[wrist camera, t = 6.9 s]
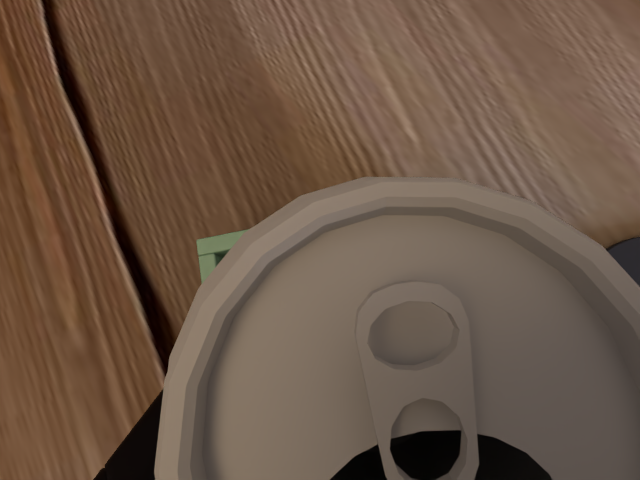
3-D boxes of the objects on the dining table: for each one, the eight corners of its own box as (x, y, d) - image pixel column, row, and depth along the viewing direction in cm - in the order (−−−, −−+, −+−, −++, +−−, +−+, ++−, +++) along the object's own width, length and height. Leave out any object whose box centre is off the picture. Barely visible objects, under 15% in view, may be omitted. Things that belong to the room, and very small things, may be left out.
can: (282, 456, 15) (73, 1011, 3) (264, 276, 16) (87, 164, 5) (462, 431, 14) (998, 894, 3) (425, 254, 16) (666, 82, 4)
